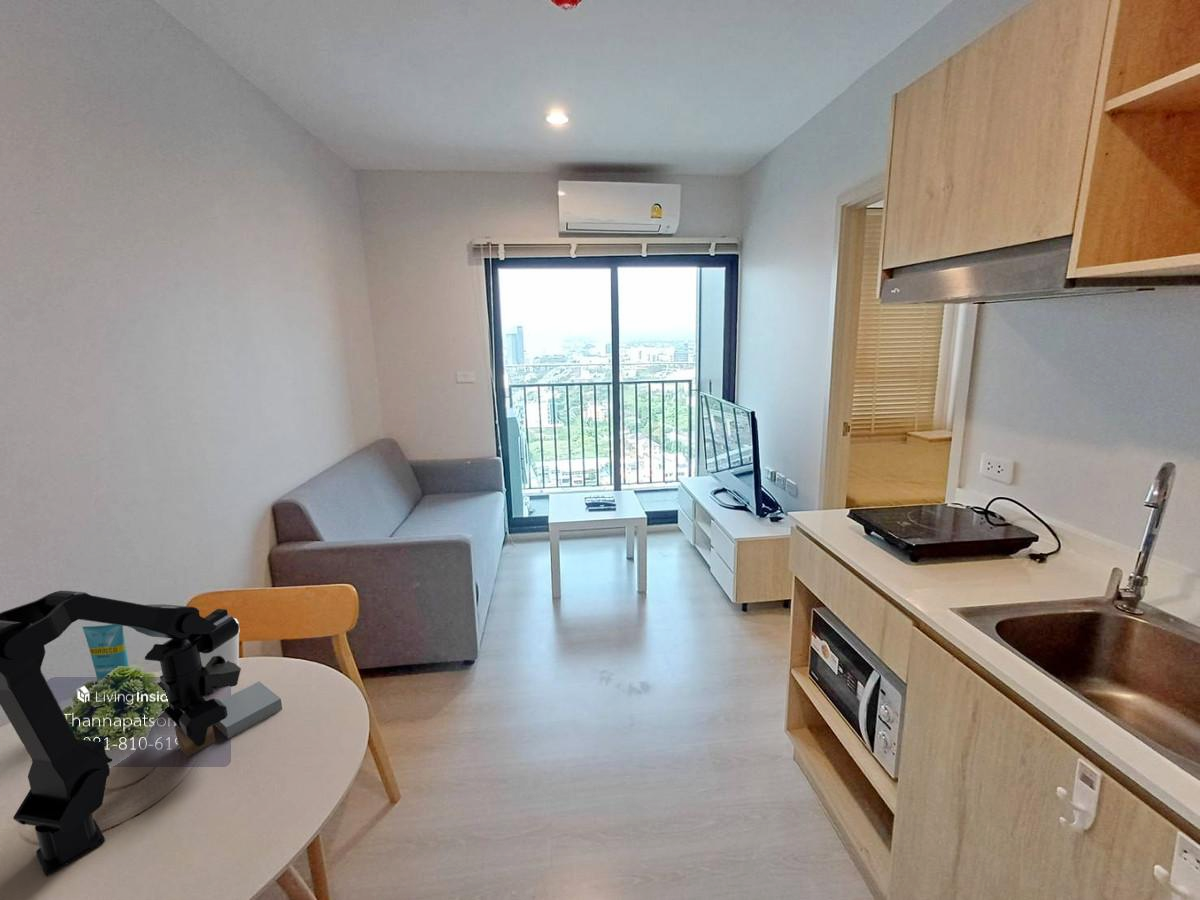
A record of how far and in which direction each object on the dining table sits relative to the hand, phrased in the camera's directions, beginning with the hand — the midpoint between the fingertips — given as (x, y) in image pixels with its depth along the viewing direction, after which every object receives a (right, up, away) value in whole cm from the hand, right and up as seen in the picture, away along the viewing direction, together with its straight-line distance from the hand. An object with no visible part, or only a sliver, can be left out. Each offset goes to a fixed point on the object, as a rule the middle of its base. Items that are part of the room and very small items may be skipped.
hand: (196, 739), depth 98 cm
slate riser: (+4, +1, +8) cm, 9 cm away
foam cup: (-10, +3, +20) cm, 22 cm away
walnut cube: (0, -1, 0) cm, 1 cm away
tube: (-25, +1, +11) cm, 27 cm away
